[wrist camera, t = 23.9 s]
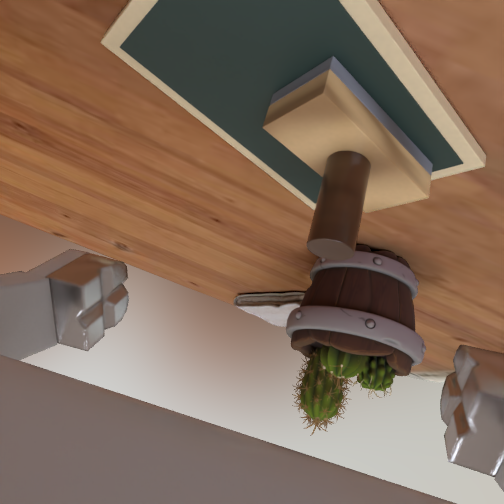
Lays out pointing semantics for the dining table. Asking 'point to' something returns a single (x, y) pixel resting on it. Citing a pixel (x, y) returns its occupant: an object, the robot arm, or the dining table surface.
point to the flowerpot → (354, 328)
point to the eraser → (346, 154)
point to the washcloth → (270, 305)
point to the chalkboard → (285, 73)
